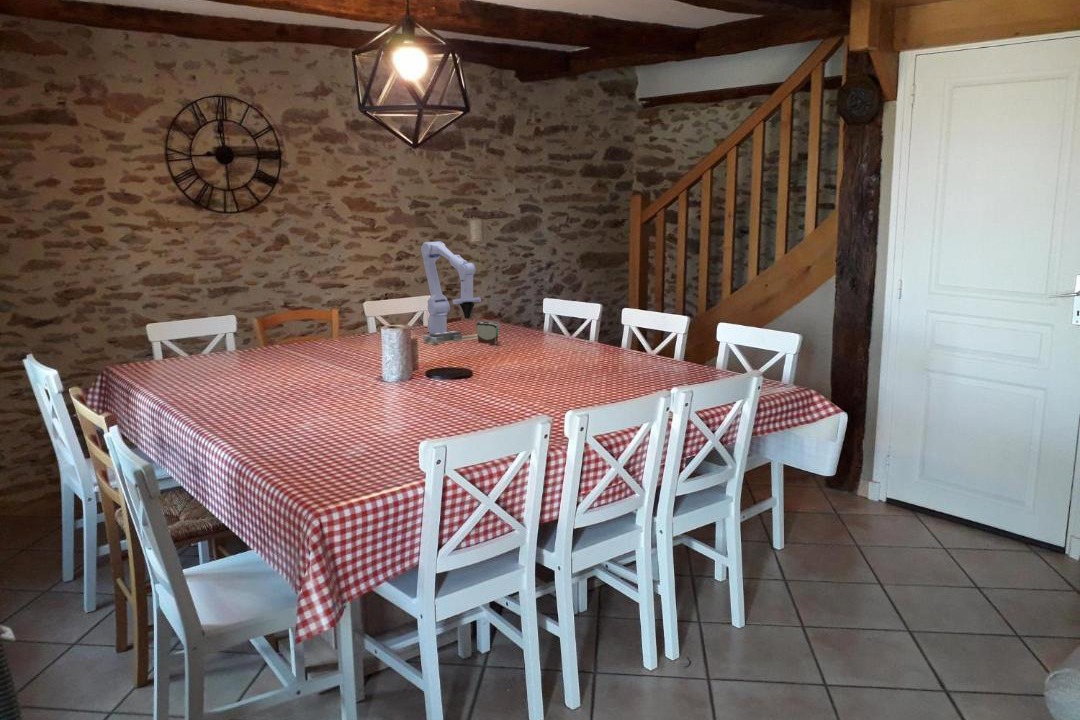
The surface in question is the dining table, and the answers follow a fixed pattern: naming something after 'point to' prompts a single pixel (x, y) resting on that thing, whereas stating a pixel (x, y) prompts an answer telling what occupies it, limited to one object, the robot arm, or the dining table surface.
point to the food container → (488, 332)
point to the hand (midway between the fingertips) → (467, 318)
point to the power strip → (446, 335)
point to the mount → (437, 340)
